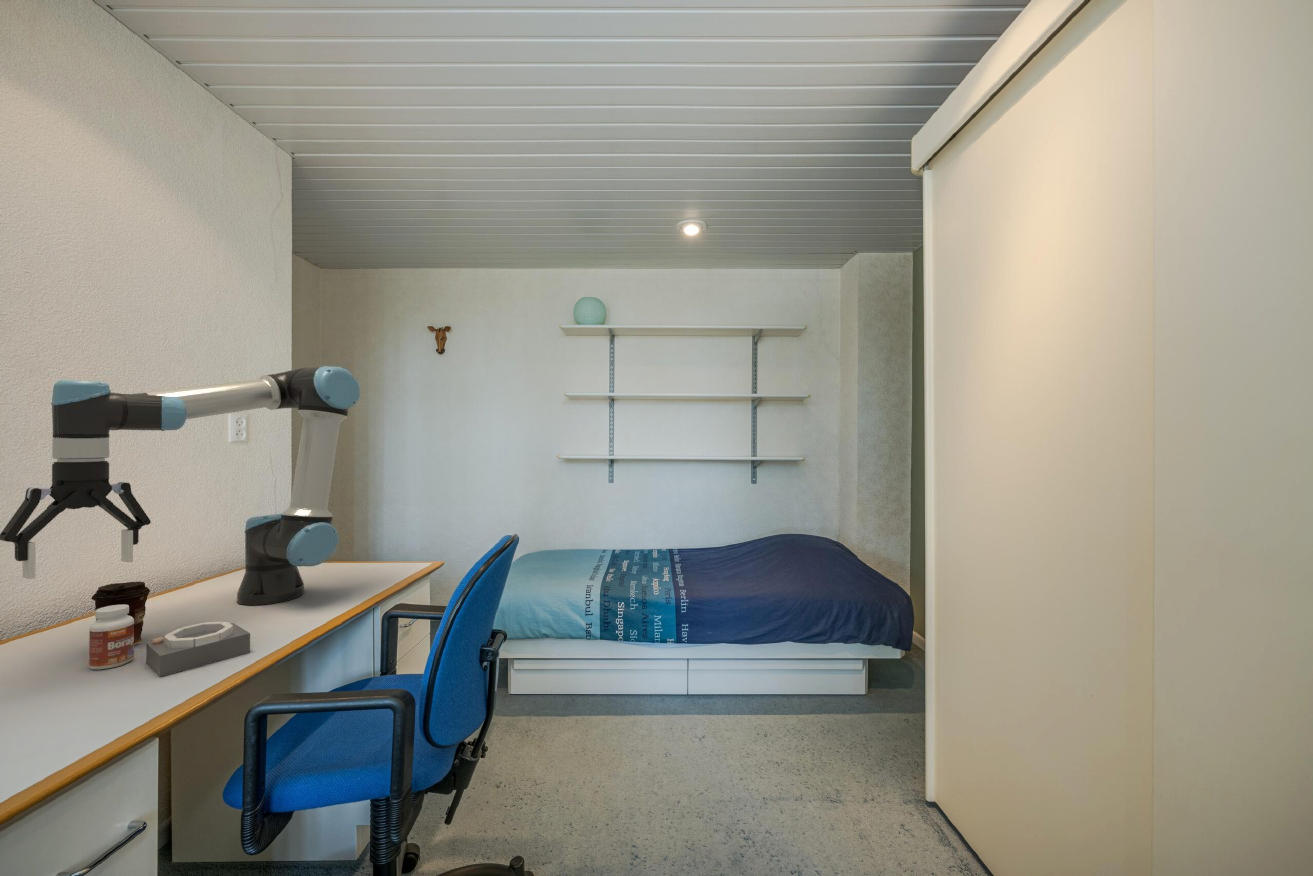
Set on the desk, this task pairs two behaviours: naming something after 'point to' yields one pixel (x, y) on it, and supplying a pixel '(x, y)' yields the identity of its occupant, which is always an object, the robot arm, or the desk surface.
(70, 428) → the robot arm
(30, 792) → the desk surface
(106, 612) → the pill bottle
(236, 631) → the grey block with ring
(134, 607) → the takeaway cup with lid
